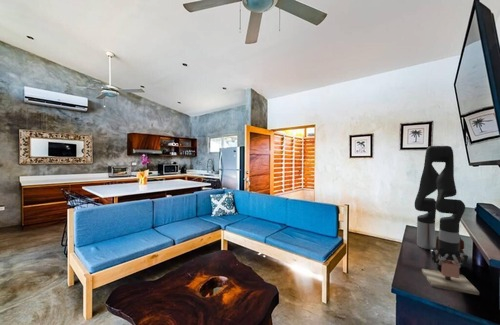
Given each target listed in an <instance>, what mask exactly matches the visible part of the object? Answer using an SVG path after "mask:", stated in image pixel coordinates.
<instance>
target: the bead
mask: <svg viewBox="0 0 500 325" xmlns="http://www.w3.org/2000/svg"><path fill="white" fill-rule="evenodd" d="M446 262H447V263H446ZM448 263H450V264H448ZM440 273H441V274H442V275H443V276H448V277H454V278H459V265H458V264H456V263H455V262H454V261H451V260H445V261H444V262H442V264H441V272H440Z"/></svg>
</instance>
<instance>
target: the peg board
mask: <svg viewBox="0 0 500 325" xmlns="http://www.w3.org/2000/svg"><path fill="white" fill-rule="evenodd" d="M446 263H447V262H446ZM448 264H450V263H448ZM421 273H422V274H423V275H424V277H425V279H426V280H427V282H428V283H429V284H430V286H431V287H432V286H433V288H438V289H444V290H449V291H453V292H459V293H464V294H470V295H476V296H480V291H479V290H478V289H477V287H475V286H474V285H473V284H472V283H471V282H470V281H469V280H468V279H467V278H466V276H465V275H463V274H461V273H460V274H459V278H454V277H448V276H443V275H442V274H441V273H440V272H439V270H434V269H433V270H432V269H427V268H421Z"/></svg>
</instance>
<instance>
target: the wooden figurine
mask: <svg viewBox="0 0 500 325" xmlns="http://www.w3.org/2000/svg"><path fill="white" fill-rule="evenodd" d="M438 242H439V235H438V236H437V237H436V238H435V250H437V249H438ZM464 249H465V241H464V239H462V238H461V237H460V244H459V252H460V253H465V252H464ZM439 255H440V254H439V253H437V254H436V260H437V259H438V257H439ZM457 260H458V262H459V263H460V261H461V257H460V256H459V257H458V258H457Z"/></svg>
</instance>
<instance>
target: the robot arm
mask: <svg viewBox="0 0 500 325" xmlns="http://www.w3.org/2000/svg"><path fill="white" fill-rule="evenodd" d="M424 156H425V157H424V163H423V170H422V174H421V177H420V180H419V187H418V192H417V194H416V197H415V200H414V208H415V210H416V211H418V212H426V213H423V214H419V215H418V216H417V219H416V222H417V223H416V245H417V246H418V247H419V248H421V249H424V250H429V251H430V256H431V261H433V263H434V264H436V269H437V271H439V272H441V264H442V262H444V261H445V260H451V261H454V262H455V263H456V264H458V265H459V274H460V275H461V268H466V266H467V262H468V258H469V256H468V255H467V254H466V253H465V252H464V253H460V252H459V244H460V238H461V237H460V222H461V220H462V217H463V215H464V214H465V210H466V204H465V202H463V200H460V199H453V198H451V197H455V196H456V195H457V192H458V191H457V187H456V182H455V173H454V172H455V164H454V162H455V161H454V158H455V157H454V150H453V147H452V146H449V145H429V146H428V147H427V148H426V150H425V155H424ZM433 163H445V165H444V168H443V169H442V170H441V172H440V173H439V172H438V171H437V170H436V169H435V167H434V165H433ZM436 191H437V195H436V199H435V198H433V197H428V196H430V195H431V194H433V193H435V192H436ZM437 212H439V213H442V214H451V216H443V217H441V218H439V230H438V236H439V242H438V249H437V250H436V213H437ZM437 253H439V254H440V255H439V257H438V259H437V260H436V258H437ZM459 256H460V257H461V261H460V263H459V262H458V260H457V258H458V257H459Z"/></svg>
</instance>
